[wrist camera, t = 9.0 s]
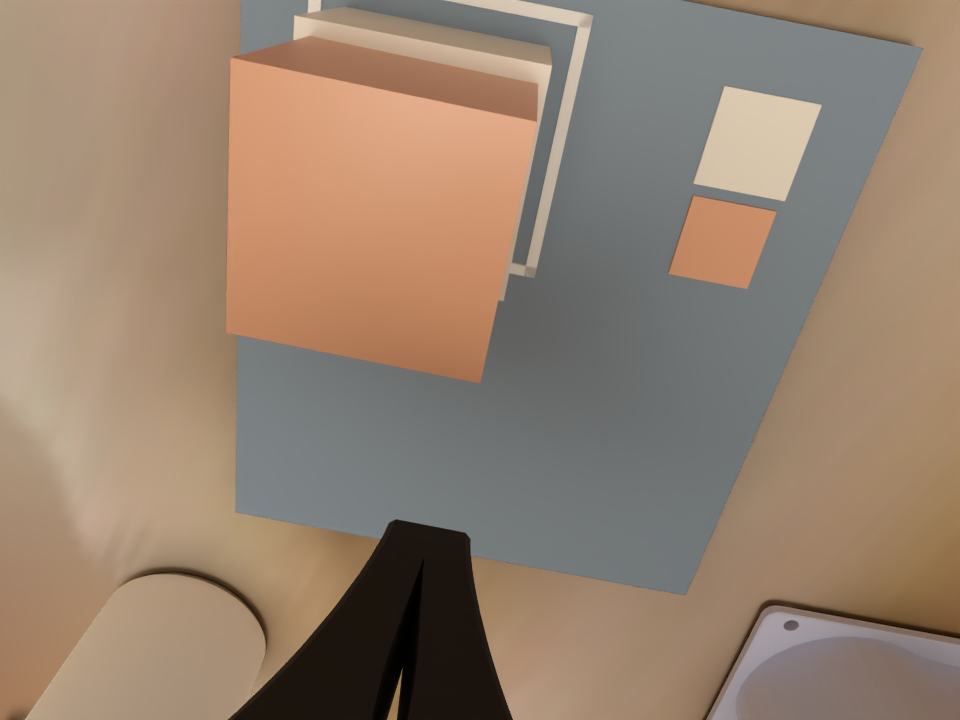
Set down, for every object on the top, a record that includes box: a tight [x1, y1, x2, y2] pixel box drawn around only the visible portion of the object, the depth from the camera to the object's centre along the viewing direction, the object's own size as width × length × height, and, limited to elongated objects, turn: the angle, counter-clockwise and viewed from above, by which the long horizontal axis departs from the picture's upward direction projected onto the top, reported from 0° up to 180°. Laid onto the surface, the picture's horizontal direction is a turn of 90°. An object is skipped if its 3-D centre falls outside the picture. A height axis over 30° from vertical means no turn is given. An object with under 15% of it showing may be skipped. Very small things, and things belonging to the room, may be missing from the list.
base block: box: [293, 6, 552, 301], centre depth 17 cm, size 5×5×4 cm
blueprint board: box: [235, 0, 923, 595], centre depth 21 cm, size 16×18×1 cm
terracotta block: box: [226, 36, 538, 383], centre depth 13 cm, size 4×4×4 cm
